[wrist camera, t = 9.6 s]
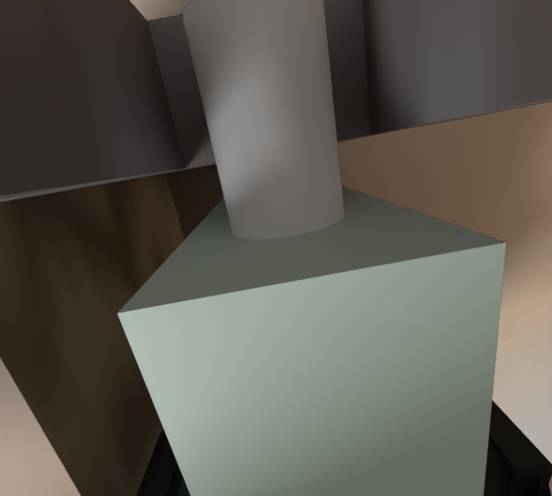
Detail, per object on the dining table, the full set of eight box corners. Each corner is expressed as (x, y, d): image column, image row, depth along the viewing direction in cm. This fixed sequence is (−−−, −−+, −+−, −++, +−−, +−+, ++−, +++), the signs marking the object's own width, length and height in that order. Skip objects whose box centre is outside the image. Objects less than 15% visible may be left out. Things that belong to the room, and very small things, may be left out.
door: (219, 121, 11) (-65, -134, 1) (326, 101, 11) (798, -294, 1) (293, 462, 17) (338, 862, 7) (362, 450, 17) (497, 833, 7)
